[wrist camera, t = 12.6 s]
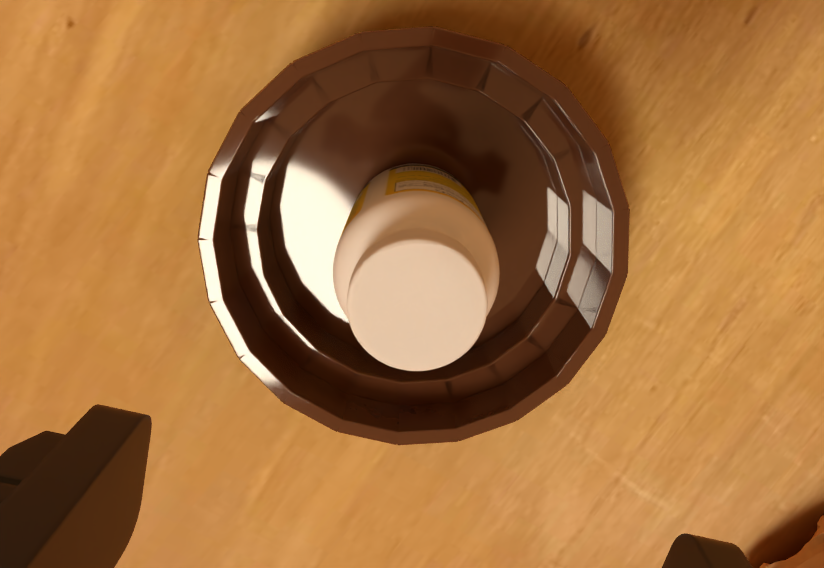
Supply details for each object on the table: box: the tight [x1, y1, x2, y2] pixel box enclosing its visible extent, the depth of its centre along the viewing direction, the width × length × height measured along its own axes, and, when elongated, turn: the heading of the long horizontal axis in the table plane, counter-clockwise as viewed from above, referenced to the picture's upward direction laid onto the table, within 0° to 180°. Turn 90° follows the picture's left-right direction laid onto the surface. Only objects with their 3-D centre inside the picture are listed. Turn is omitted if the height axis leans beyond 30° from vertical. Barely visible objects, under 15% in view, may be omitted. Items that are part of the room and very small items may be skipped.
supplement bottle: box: [333, 164, 500, 371], centre depth 23 cm, size 5×5×10 cm
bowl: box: [198, 26, 630, 445], centre depth 26 cm, size 15×15×5 cm
